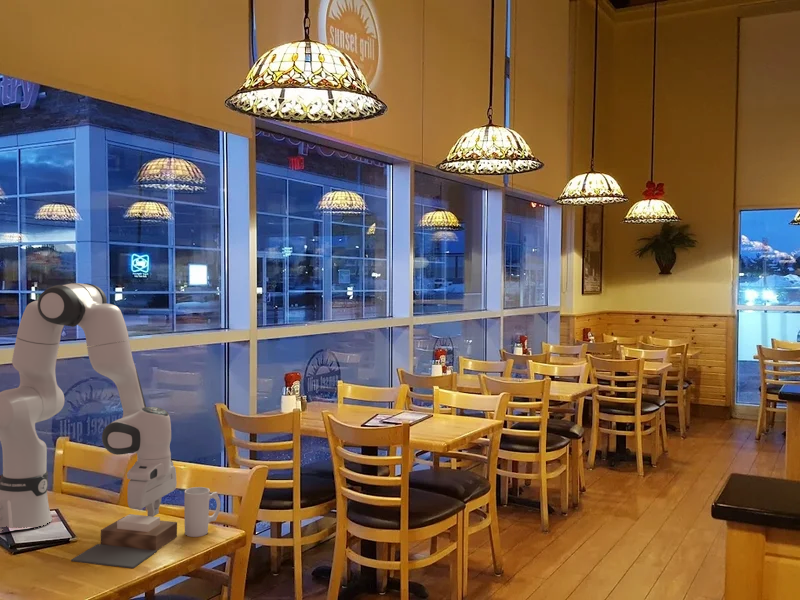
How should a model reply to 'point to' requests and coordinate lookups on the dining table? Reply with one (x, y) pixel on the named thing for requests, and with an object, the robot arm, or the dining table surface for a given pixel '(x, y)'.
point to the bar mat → (114, 556)
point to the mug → (199, 510)
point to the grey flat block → (138, 523)
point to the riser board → (139, 536)
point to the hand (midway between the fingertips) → (153, 515)
